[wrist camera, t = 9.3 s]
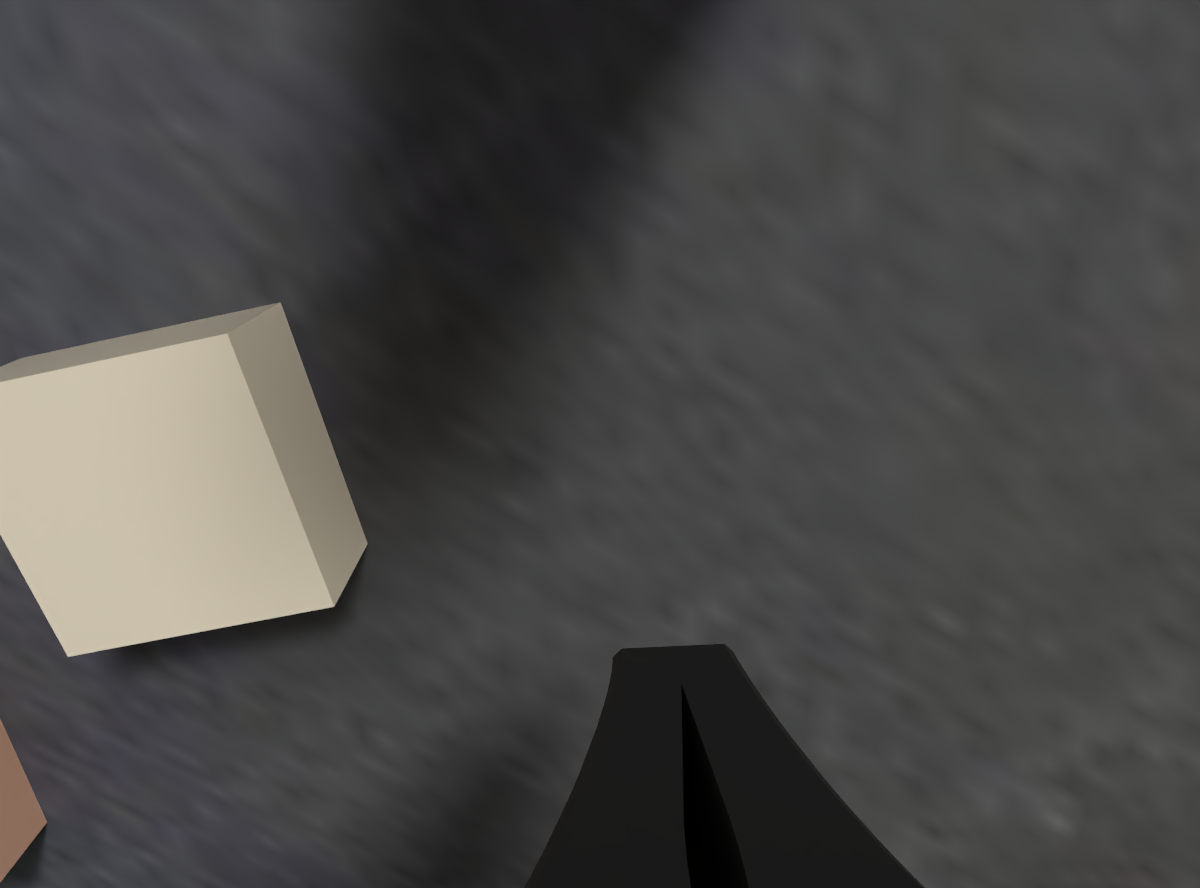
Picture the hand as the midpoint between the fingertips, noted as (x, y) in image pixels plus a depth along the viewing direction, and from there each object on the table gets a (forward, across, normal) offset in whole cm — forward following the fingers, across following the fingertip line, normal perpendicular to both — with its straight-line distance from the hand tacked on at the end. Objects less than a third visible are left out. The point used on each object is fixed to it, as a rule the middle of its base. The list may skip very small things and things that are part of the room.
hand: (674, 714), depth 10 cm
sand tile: (+10, +10, 0) cm, 14 cm away
